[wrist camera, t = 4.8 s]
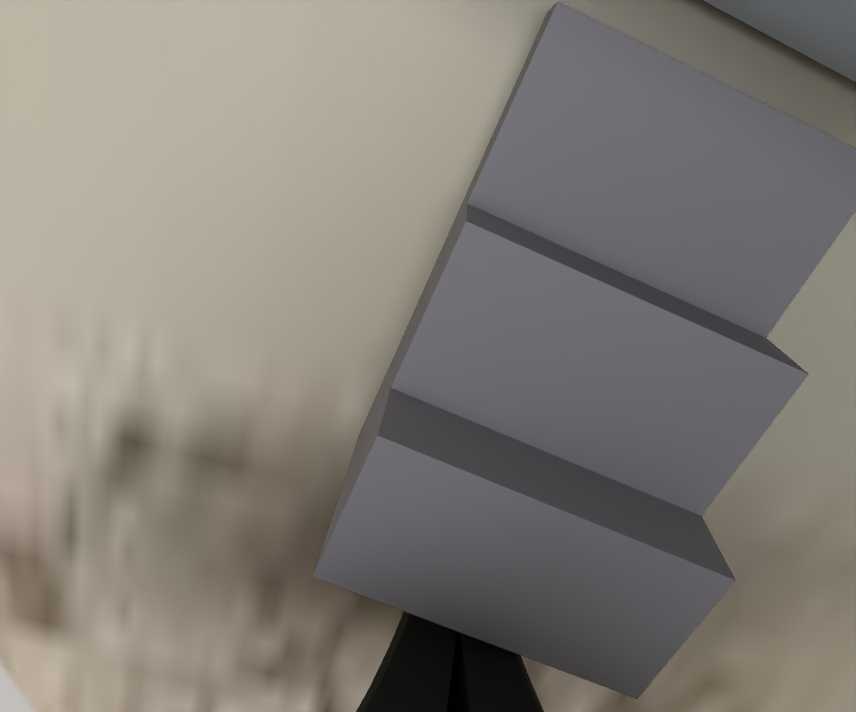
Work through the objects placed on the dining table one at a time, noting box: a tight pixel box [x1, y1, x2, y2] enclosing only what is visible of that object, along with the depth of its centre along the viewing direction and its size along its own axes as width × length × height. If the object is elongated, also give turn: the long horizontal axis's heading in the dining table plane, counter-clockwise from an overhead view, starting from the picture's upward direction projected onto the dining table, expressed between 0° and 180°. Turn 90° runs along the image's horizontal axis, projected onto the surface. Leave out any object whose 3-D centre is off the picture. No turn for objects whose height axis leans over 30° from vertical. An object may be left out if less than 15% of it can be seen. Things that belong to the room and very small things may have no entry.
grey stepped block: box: [313, 2, 856, 699], centre depth 8 cm, size 4×7×4 cm, turn 157°
